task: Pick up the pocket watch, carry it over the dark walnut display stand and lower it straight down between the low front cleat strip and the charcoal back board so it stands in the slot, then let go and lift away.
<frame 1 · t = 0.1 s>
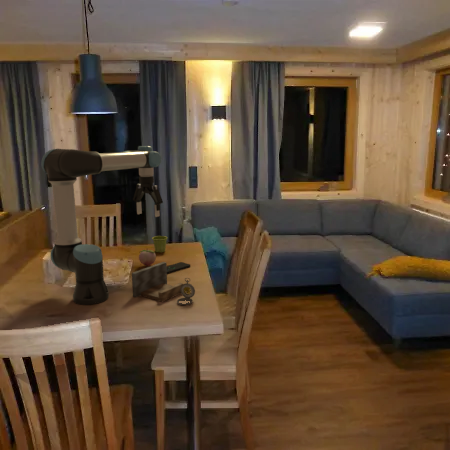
hand: (148, 215, 224), 28 cm above the table, tool pointing down, fingers open, 13 cm apart
smart home device: (172, 270, 222), on the table
decorative fruit: (148, 266, 228), on the table
plant pot: (160, 251, 257), on the table
display stand: (160, 293, 189), on the table
pocket watch: (186, 302, 179), on the table
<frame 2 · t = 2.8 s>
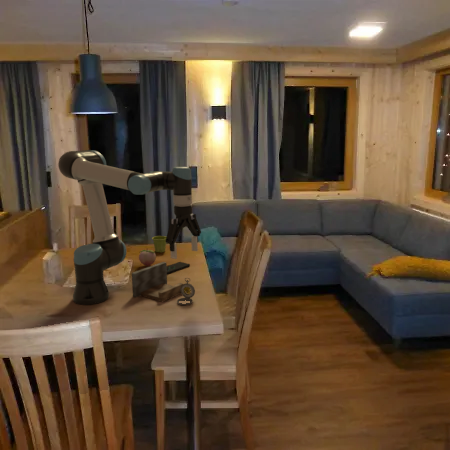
hand: (184, 254, 176), 21 cm above the table, tool pointing down, fingers open, 13 cm apart
nothing on the table moved.
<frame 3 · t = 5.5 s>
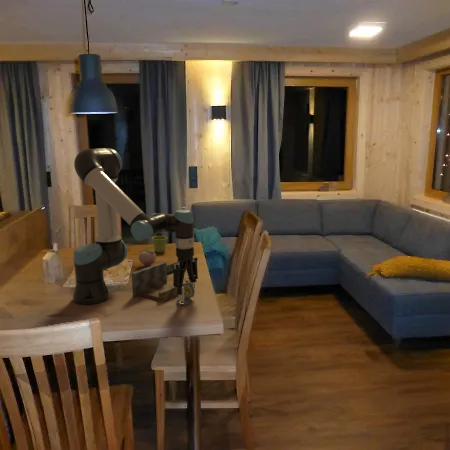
hand: (186, 298, 179), 1 cm above the table, tool pointing down, fingers open, 6 cm apart
pocket watch: (185, 302, 179), on the table, touching gripper
everything else where it was.
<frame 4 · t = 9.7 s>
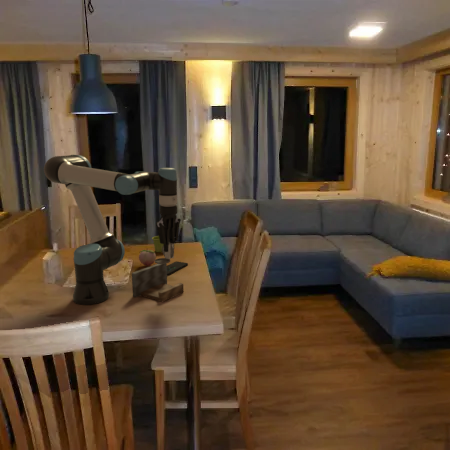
hand: (169, 258, 181), 18 cm above the table, tool pointing down, fingers closed on pocket watch
pocket watch: (164, 262, 180), point 16 cm above the table, touching gripper
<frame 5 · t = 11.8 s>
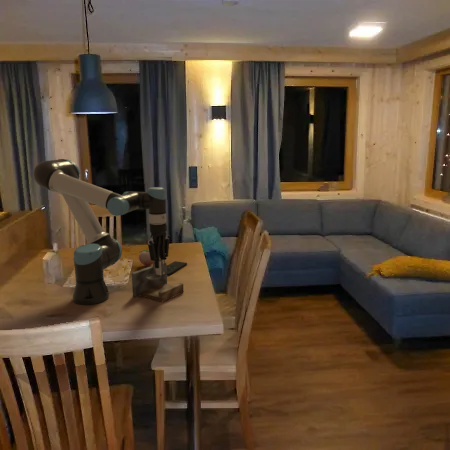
hand: (160, 273, 187), 9 cm above the table, tool pointing down, fingers closed on pocket watch
pocket watch: (155, 278, 186), point 8 cm above the table, touching gripper
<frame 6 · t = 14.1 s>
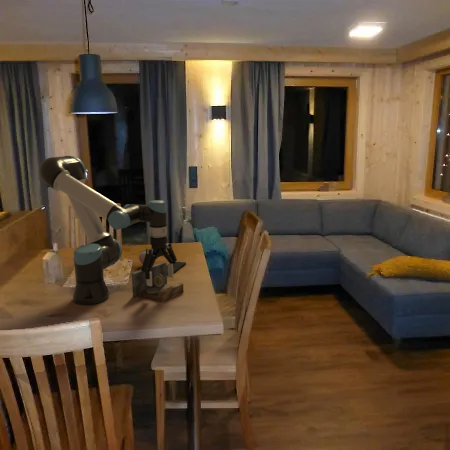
hand: (160, 281, 188), 6 cm above the table, tool pointing down, fingers open, 13 cm apart
pocket watch: (156, 291, 187), point 1 cm above the table, touching display stand
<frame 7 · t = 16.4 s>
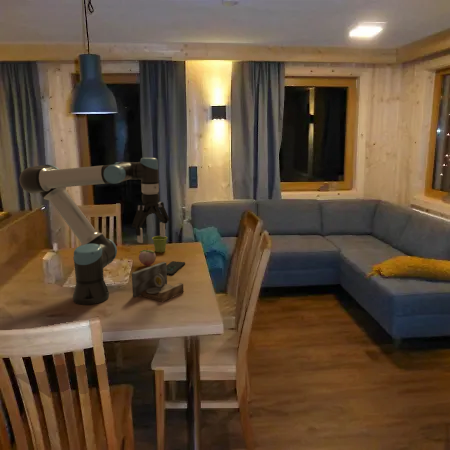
hand: (151, 239, 189), 24 cm above the table, tool pointing down, fingers open, 13 cm apart
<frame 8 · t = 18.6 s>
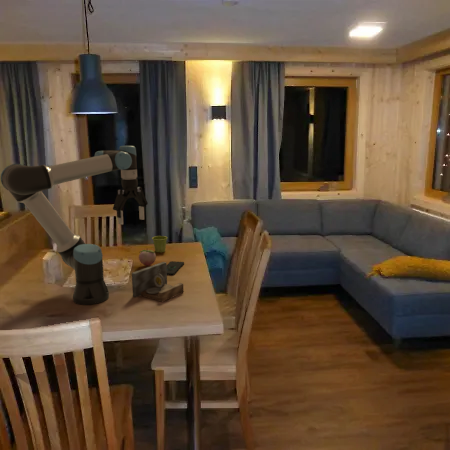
hand: (131, 221, 204), 29 cm above the table, tool pointing down, fingers open, 13 cm apart
at the end: pocket watch 2.5 cm off-centre on the display stand, point 1.3 cm above the display stand's base; pocket watch tilted 0°; the gripper is holding nothing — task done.
